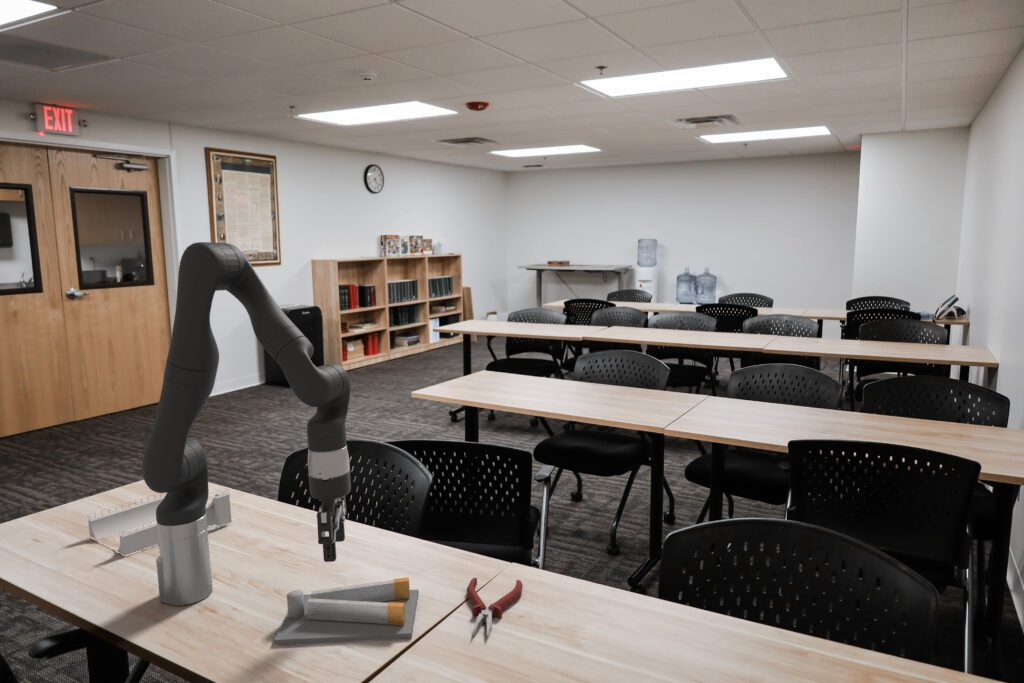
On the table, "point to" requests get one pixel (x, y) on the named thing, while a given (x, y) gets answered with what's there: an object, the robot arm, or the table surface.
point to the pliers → (494, 608)
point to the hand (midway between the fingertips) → (334, 550)
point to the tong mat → (339, 624)
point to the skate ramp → (147, 514)
